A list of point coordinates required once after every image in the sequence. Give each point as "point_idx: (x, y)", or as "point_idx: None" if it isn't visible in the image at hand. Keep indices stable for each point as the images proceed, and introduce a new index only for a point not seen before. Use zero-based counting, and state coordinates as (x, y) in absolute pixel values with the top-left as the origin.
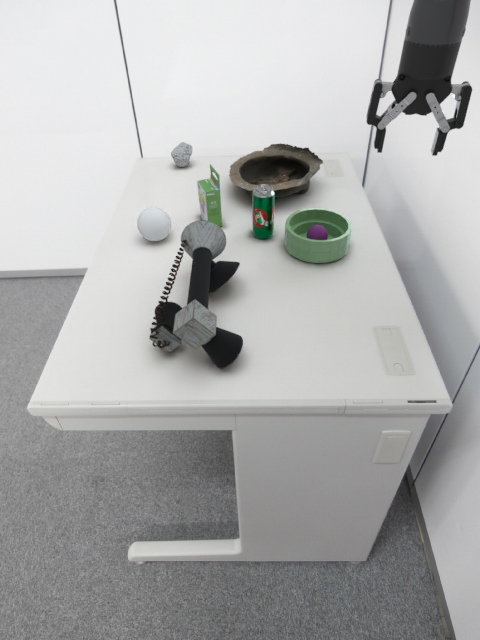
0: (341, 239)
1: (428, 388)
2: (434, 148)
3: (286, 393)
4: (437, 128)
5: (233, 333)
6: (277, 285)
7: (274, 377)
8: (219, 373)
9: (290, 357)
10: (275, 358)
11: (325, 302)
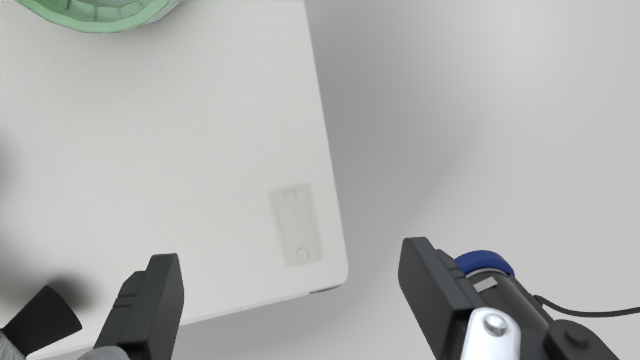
0: (167, 3)
1: (335, 273)
2: (409, 304)
3: None
4: (451, 318)
5: (53, 315)
6: (69, 119)
7: None
8: None
9: None
10: None
11: (182, 151)
